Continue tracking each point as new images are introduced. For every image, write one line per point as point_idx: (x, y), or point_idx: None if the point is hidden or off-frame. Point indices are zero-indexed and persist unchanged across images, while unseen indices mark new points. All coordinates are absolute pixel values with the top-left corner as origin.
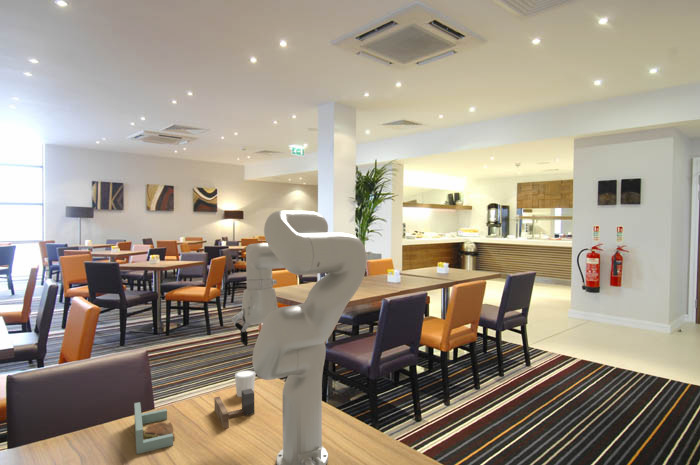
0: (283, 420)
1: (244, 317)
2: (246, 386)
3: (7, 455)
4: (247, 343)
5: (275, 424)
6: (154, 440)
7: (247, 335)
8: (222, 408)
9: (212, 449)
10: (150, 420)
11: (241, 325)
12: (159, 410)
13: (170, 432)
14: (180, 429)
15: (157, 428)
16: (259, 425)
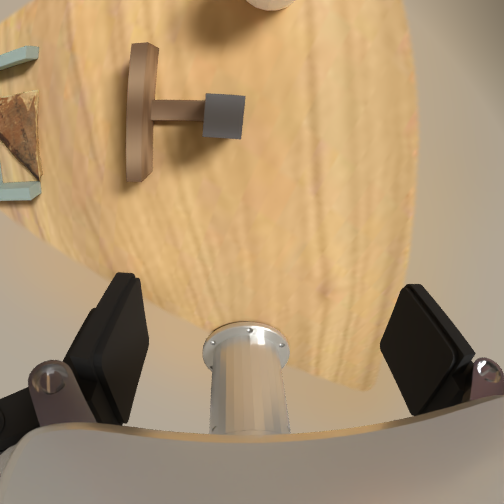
0: (210, 411)
1: (36, 485)
2: (266, 2)
3: None
4: (145, 350)
5: (263, 221)
6: (6, 200)
7: (132, 402)
8: (132, 139)
9: (106, 247)
10: (8, 66)
11: (45, 422)
12: (14, 52)
13: (31, 152)
14: (53, 126)
15: (11, 124)
16: (226, 203)
